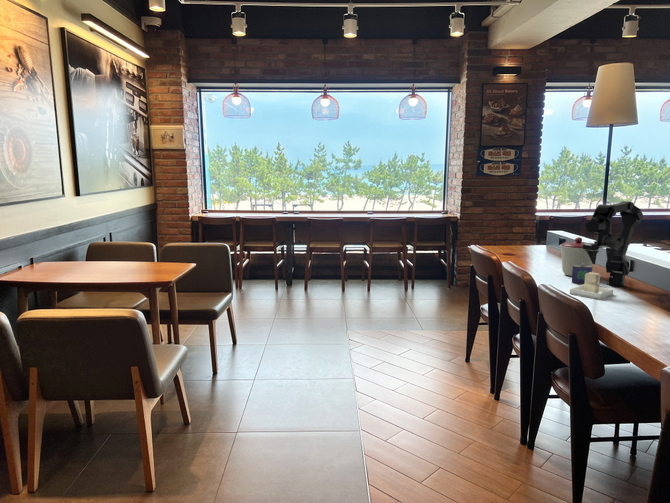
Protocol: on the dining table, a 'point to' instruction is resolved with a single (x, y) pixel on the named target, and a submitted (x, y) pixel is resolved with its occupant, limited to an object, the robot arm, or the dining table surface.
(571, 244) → the canister
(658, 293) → the dining table surface
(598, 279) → the maple block
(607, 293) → the tray
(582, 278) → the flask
